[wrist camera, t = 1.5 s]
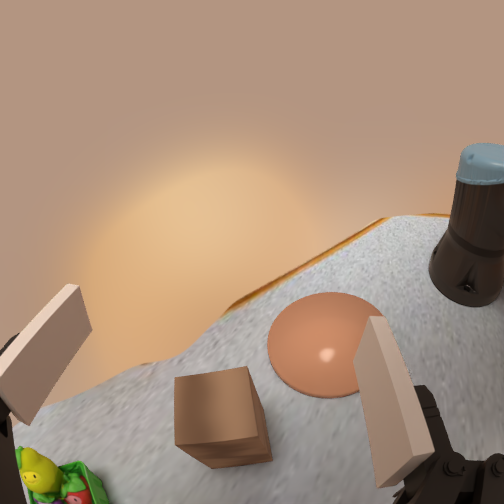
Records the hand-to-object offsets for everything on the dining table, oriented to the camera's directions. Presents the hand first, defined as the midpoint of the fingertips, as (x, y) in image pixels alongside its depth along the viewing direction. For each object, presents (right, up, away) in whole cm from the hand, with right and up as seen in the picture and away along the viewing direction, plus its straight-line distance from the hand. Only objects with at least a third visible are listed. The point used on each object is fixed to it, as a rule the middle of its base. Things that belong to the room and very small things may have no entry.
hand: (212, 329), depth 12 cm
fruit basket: (-20, -29, +10) cm, 36 cm away
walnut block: (0, -19, +17) cm, 25 cm away
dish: (+12, -9, +26) cm, 30 cm away
